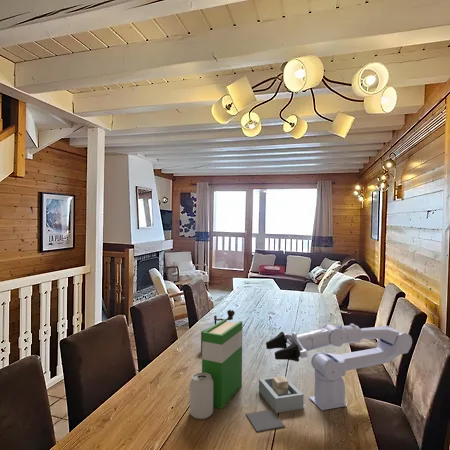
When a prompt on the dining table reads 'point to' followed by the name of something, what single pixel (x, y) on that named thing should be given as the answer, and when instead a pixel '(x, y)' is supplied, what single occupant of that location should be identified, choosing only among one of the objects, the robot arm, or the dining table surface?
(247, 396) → the dining table surface
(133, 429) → the dining table surface
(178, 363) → the dining table surface
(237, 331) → the hardback book
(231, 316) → the coffee grinder
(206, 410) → the can
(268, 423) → the mat
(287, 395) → the slot box
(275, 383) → the block
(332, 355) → the robot arm
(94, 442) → the dining table surface
